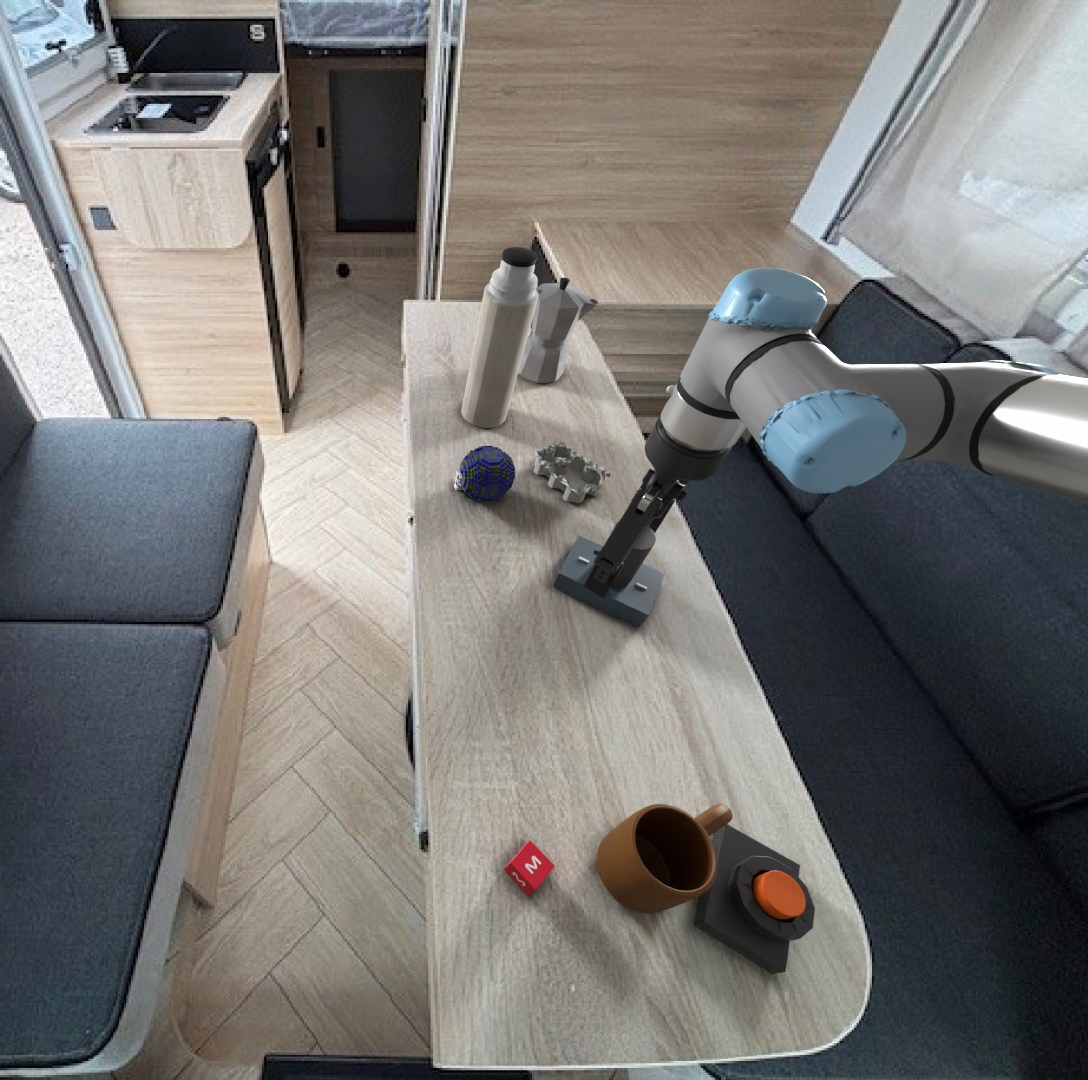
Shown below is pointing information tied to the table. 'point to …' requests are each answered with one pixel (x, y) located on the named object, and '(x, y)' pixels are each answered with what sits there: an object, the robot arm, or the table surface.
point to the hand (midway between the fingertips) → (620, 559)
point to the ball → (485, 473)
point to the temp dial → (635, 558)
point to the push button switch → (750, 902)
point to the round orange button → (779, 895)
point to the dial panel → (619, 602)
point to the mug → (661, 857)
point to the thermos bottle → (501, 338)
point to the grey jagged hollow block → (569, 472)
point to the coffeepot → (552, 330)
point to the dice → (529, 868)
